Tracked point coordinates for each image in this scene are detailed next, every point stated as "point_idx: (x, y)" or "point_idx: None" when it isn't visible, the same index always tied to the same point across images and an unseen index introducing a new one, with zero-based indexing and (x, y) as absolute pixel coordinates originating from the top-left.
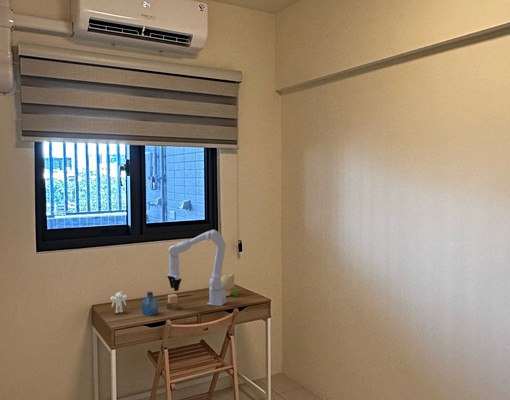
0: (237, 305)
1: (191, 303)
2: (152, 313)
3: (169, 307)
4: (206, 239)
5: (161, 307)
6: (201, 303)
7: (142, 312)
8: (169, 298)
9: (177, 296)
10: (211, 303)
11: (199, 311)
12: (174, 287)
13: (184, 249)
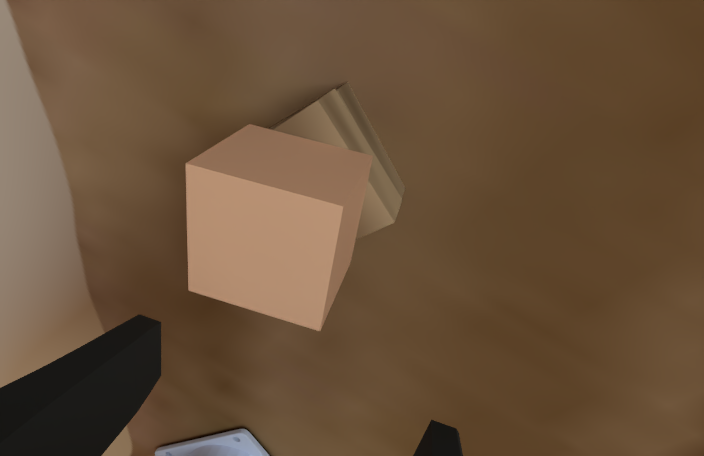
0: None
1: (366, 389)
2: None
3: (300, 110)
4: None
5: (473, 60)
6: (307, 429)
7: None
8: (245, 157)
9: (195, 281)
10: (213, 448)
11: (89, 279)
12: (51, 367)
13: None
